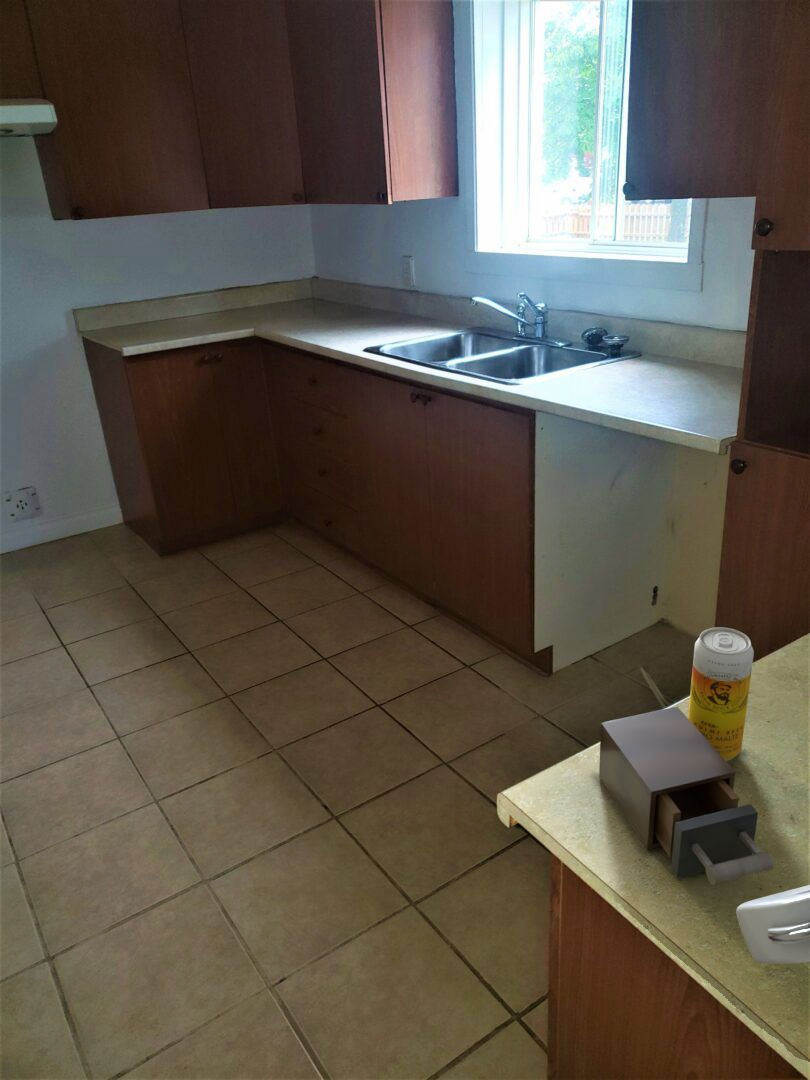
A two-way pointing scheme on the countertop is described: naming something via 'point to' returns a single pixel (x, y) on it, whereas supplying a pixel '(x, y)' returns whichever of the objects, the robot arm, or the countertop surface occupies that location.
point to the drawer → (709, 833)
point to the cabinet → (655, 763)
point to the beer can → (721, 688)
